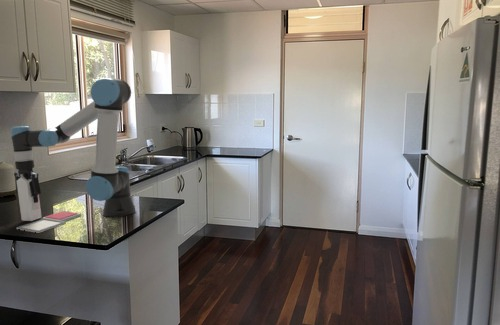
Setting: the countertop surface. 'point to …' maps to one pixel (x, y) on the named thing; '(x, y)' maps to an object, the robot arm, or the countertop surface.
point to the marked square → (41, 225)
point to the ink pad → (62, 216)
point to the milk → (27, 200)
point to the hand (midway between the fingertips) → (30, 208)
